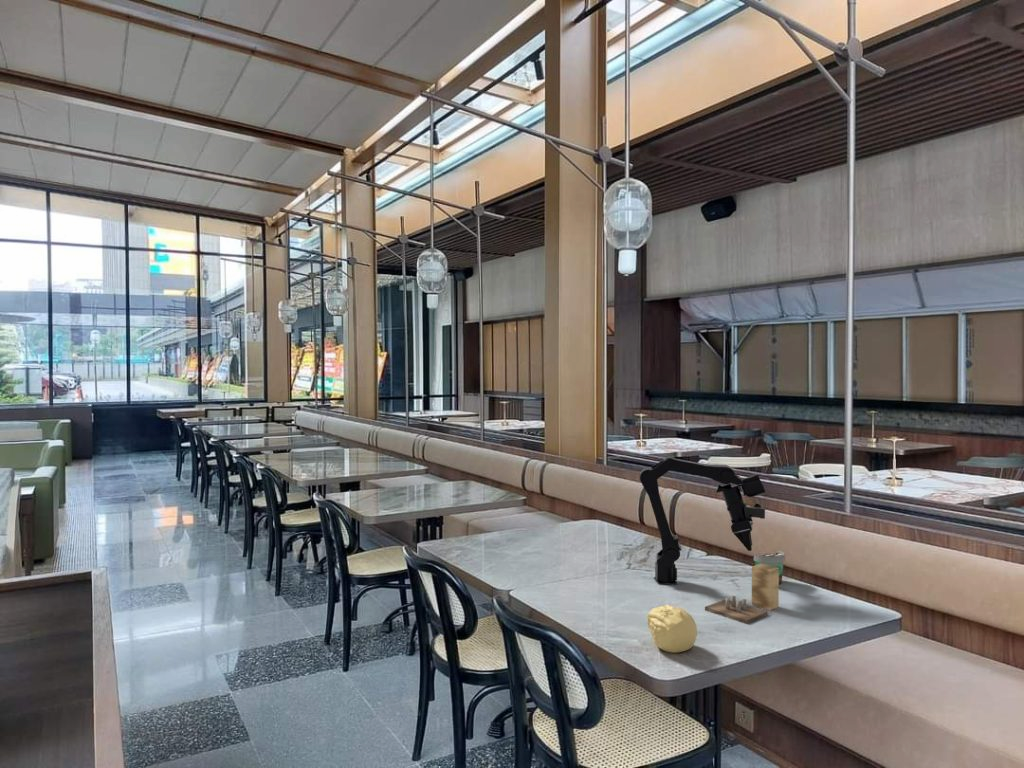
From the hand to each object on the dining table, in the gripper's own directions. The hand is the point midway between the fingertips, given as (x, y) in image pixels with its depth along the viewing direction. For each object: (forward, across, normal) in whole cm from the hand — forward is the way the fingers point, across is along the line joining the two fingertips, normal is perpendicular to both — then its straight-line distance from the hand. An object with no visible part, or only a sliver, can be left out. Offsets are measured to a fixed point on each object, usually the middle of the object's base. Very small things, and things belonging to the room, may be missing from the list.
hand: (750, 548), depth 218 cm
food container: (+15, +10, -3) cm, 18 cm away
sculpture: (+11, -56, +23) cm, 61 cm away
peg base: (+13, -23, +8) cm, 28 cm away
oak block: (+15, -14, 0) cm, 21 cm away
